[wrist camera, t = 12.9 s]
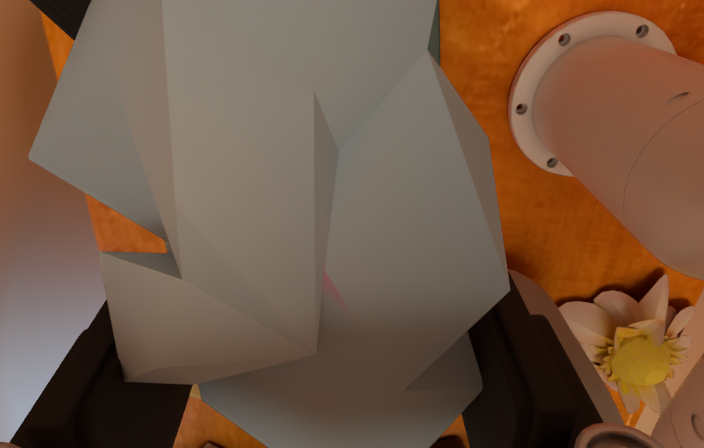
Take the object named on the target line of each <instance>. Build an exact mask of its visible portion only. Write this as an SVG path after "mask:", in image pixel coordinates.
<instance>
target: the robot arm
mask: <svg viewBox="0 0 704 448" xmlns="http://www.w3.org/2000/svg"><path fill="white" fill-rule="evenodd" d="M638 27H639V30H638V31H637V28H638ZM636 31H637V32H636ZM561 35H563V38H562V40H561V41H558V39H559V37H560V36H561ZM519 104H521V107H520V108H518V109H517V108H516V107H517V106H518V105H519ZM508 120H509V126H510V129H511V132H512V136H513V138H514V140H515V142H516V143H517V145H518V147H519V148H520V150H521V151H522V152H523V153H524V154H525V156H526V157H527V158H528V159H529V160H531V161H532V162H533V163H534V164H535V165H537V166H538V167H540V168H542V169H544V170H545V171H548V172H551V173H554V174H558V175H562V176H574V177H576V178H577V179H578V180H579V181H580V182H581V183H582V184H583V185H584V186H585V187H586V188H587V189H588V191H589V192H590V193H591V194H592V195H593V196H594V197H595V198H596V199H597V200H598V201H599V202H600V203H601V204H602V205H603V206H604V207H605V208H606V209H607V210H608V211H609V212H610V213H611V214H612V215H613V216H614V217H615V218H616V219H617V220H618V221H619V222H620V223H621V224H622V225H623V226H624V227H625V228H626V229H627V230H628V231H629V232H630V233H631V234H632V235H633V236H634V237H635V238H636V239H637V240H638V241H639V242H640V243H641V244H642V245H643V246H644V247H645V248H646V249H647V250H648V251H649V252H650V253H651V254H652V255H653V256H654V257H656V258H657V259H658V260H659V261H661V262H662V263H663V264H665V265H667V266H668V267H670V268H671V269H673V270H675V271H677V272H680V273H682V274H684V275H687V276H690V277H693V278H696V279H699V280H704V65H703V64H700V63H698V62H695V61H692V60H689V59H686V58H683V57H680V56H677V54H676V52H675V49H674V47H673V44H672V42H671V41H670V40H669V38H668V37H667V35H666V34H665V33H664V31H662V30H661V29H660V28H659V27H658V26H657V25H655V24H654V23H653V22H651V21H649V20H647V19H645V18H643V17H641V16H639V15H635V14H631V13H627V12H621V11H610V10H608V11H599V12H591V13H588V14H585V15H582V16H578V17H575V18H573V19H571V20H569V21H567V22H565V23H563V24H561V25H560V26H558V27H557V28H555V29H554V30H553V31H551V32H550V33H548V34H547V35H546V36H544V37H543V38H542V39H541V40H540V41H539V42H538V43H537V45H536V46H535V47H534V48H533V49H532V50H531V51H530V52H529V54H528V55H527V57H526V58H525V59H524V61H523V62H522V64H521V65H520V67H519V70H518V72H517V74H516V76H515V78H514V80H513V83H512V87H511V90H510V94H509V101H508ZM550 158H551V159H550ZM549 159H550V160H549ZM548 160H549V161H548ZM507 270H508V269H507ZM508 277H509V284H510V291H509V292H508V293H507V294H506V295H505V296H504V297H503V298H502V299H501V300H500V301H498V302H497V303H496V304H495V305H494V306H493V307H492V308H491V309H490V310H489V311H488V312H487V313H486V314H485V315H484V316H482V317H481V318H480V319H479V320H478V321H477V322H476V323H475V324H474V325H473V326H472V327H471V328H470V329H469V330H468V335H469V338H470V341H471V344H472V348H473V351H474V354H475V358H476V361H477V364H478V367H479V371H480V374H481V377H482V386H483V389H482V391H481V392H480V393H479V394H478V396H477V397H476V398H475V399H474V400H473V401H472V402H471V403H470V404H469V405H468V406H467V407H466V409H465V410H464V411H463V412H462V413H461V414H462V418H463V422H464V425H465V429H466V433H467V437H468V441H469V445H470V448H704V354H703V355H702V356H701V358H700V359H699V361H698V362H697V363H696V365H695V366H694V367H693V369H692V370H691V372H690V373H689V375H688V376H687V377H686V379H685V380H684V381H683V383H682V384H681V386H680V387H679V388H678V390H677V391H676V392H675V394H674V396H673V398H672V399H671V401H670V402H669V403H668V405H667V406H666V408H665V409H664V411H663V413H662V414H661V416H660V418H659V419H658V421H657V423H656V425H655V427H654V429H653V432H652V434H651V436H649V435H647V434H645V433H643V432H642V431H640V430H637V429H635V428H632V427H629V426H626V425H623V424H616V423H608V422H606V423H604V422H603V420H602V418H601V416H600V414H599V412H598V411H597V409H596V407H595V405H594V403H593V401H592V400H591V398H590V396H589V394H588V392H587V390H586V389H585V387H584V385H583V383H582V381H581V379H580V377H579V376H578V374H577V372H576V370H575V368H574V366H573V365H572V363H571V361H570V359H569V357H568V355H567V354H566V352H565V350H564V348H563V346H562V344H561V343H560V341H559V339H558V337H557V335H556V333H555V332H554V330H553V328H552V326H551V324H550V322H549V321H548V319H547V318H546V317H545V316H544V315H542V314H532V315H530V313H529V311H528V309H527V307H526V305H525V303H524V301H523V299H522V297H521V295H520V293H519V291H518V289H517V287H516V285H515V283H514V281H513V279H512V277H511V275H510V273H509V271H508ZM192 386H193V385H190V384H165V383H141V382H125V381H124V378H123V373H122V368H121V363H120V360H119V359H118V354H117V349H116V344H115V338H114V333H113V328H112V323H111V318H110V313H109V308H108V302H107V300H106V301H105V303H104V304H103V306H102V307H101V309H100V311H99V312H98V314H97V315H96V317H95V318H94V320H93V321H92V323H91V324H90V326H89V328H88V329H86V330H84V331H83V332H82V333H81V335H80V336H79V337H78V339H77V340H76V342H75V343H74V345H73V346H72V348H71V349H70V351H69V352H68V354H67V355H66V357H65V358H64V360H63V361H62V363H61V364H60V366H59V368H58V369H57V371H56V372H55V374H54V375H53V377H52V378H51V380H50V382H49V383H48V384H47V386H46V387H45V389H44V390H43V392H42V394H41V395H40V397H39V398H38V400H37V401H36V403H35V404H34V406H33V407H32V409H31V411H30V412H29V413H28V415H27V417H26V418H25V420H24V421H23V423H22V424H21V426H20V427H19V429H18V430H17V432H16V433H15V435H14V436H13V438H12V440H11V441H10V442H9V443H5V442H0V448H172V447H173V444H174V441H175V438H176V435H177V432H178V429H179V426H180V423H181V420H182V417H183V414H184V411H185V408H186V405H187V402H188V399H189V396H190V392H191V389H192Z"/></svg>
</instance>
